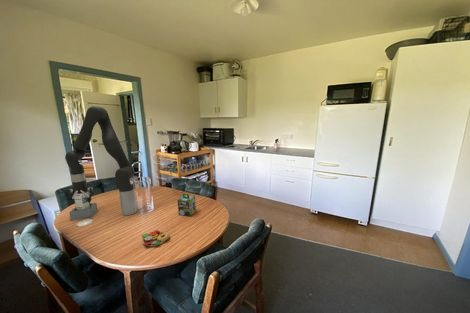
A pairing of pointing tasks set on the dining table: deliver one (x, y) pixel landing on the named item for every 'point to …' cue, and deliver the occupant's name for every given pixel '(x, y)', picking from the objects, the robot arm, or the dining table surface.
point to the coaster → (84, 222)
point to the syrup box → (81, 201)
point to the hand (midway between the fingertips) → (82, 202)
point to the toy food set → (154, 238)
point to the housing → (83, 212)
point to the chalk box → (186, 205)
